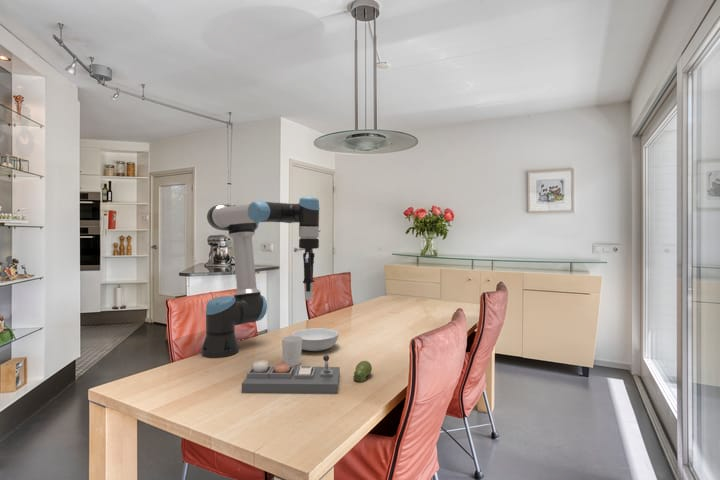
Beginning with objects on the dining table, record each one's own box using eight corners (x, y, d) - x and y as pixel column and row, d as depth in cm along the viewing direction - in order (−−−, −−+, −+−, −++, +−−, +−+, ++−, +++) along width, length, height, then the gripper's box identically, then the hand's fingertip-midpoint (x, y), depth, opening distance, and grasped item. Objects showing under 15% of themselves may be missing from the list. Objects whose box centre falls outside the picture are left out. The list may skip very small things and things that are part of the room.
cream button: (255, 367, 135) (255, 360, 135) (269, 367, 135) (269, 360, 135) (251, 372, 130) (251, 365, 130) (265, 373, 130) (265, 365, 130)
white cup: (297, 367, 148) (297, 341, 148) (278, 365, 150) (278, 340, 149) (304, 360, 156) (304, 336, 156) (286, 359, 157) (286, 335, 157)
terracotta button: (276, 370, 135) (276, 363, 135) (290, 370, 135) (290, 363, 135) (273, 376, 130) (273, 368, 130) (288, 376, 130) (288, 368, 130)
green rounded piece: (373, 359, 142) (364, 373, 133) (374, 372, 143) (364, 387, 134) (359, 357, 144) (349, 370, 135) (360, 370, 145) (350, 384, 136)
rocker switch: (300, 368, 135) (300, 365, 135) (311, 368, 135) (311, 365, 135) (298, 376, 130) (298, 373, 130) (310, 376, 130) (310, 374, 130)
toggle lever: (323, 368, 134) (322, 353, 128) (330, 368, 134) (329, 353, 129) (323, 373, 132) (322, 358, 127) (330, 373, 132) (329, 358, 127)
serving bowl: (341, 342, 182) (341, 328, 182) (334, 357, 161) (334, 340, 161) (298, 340, 184) (298, 326, 184) (285, 354, 163) (285, 338, 163)
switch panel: (254, 374, 141) (254, 361, 140) (339, 375, 141) (339, 362, 141) (241, 392, 125) (241, 378, 124) (337, 393, 125) (337, 379, 125)
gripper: (317, 238, 140) (316, 302, 141) (320, 237, 153) (319, 296, 154) (296, 238, 140) (295, 302, 141) (301, 237, 153) (301, 296, 154)
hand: (308, 299), depth 147 cm, fingers closed
